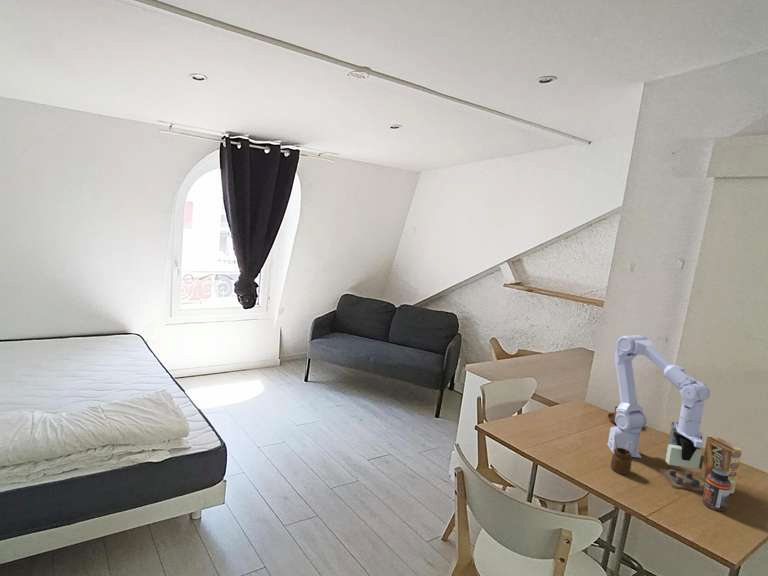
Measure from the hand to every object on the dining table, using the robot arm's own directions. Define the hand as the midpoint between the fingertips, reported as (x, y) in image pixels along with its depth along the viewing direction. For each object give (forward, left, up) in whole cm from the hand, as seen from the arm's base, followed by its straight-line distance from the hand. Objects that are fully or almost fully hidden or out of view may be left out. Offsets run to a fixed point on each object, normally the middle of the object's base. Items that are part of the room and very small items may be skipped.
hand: (683, 457), depth 144 cm
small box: (+10, +20, -9) cm, 24 cm away
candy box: (+11, +1, -9) cm, 14 cm away
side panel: (+2, 0, -9) cm, 9 cm away
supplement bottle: (+4, -12, -9) cm, 15 cm away
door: (0, 0, -3) cm, 3 cm away
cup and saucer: (-3, +44, -9) cm, 45 cm away
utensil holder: (-18, +1, -9) cm, 20 cm away
